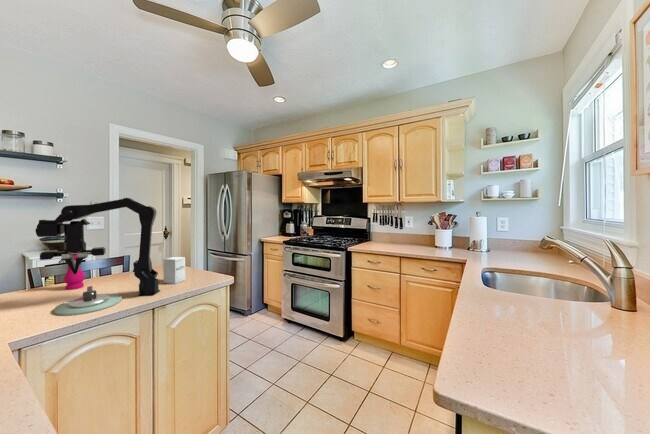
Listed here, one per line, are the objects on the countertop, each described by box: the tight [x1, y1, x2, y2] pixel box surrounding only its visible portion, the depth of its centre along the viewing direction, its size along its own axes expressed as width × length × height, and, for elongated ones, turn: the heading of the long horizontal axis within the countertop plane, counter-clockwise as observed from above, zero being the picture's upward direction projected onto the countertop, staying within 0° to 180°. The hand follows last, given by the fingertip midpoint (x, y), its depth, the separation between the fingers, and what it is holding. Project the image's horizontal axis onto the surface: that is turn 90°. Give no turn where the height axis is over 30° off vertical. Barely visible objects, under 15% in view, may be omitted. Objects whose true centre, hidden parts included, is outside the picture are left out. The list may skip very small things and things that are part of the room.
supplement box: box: [162, 256, 186, 285], centre depth 135 cm, size 7×7×13 cm
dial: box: [69, 285, 109, 308], centre depth 105 cm, size 16×12×4 cm
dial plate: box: [53, 293, 123, 317], centre depth 103 cm, size 20×20×1 cm
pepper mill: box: [63, 252, 86, 291], centre depth 124 cm, size 7×7×20 cm
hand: (75, 273), depth 106 cm, fingers closed
